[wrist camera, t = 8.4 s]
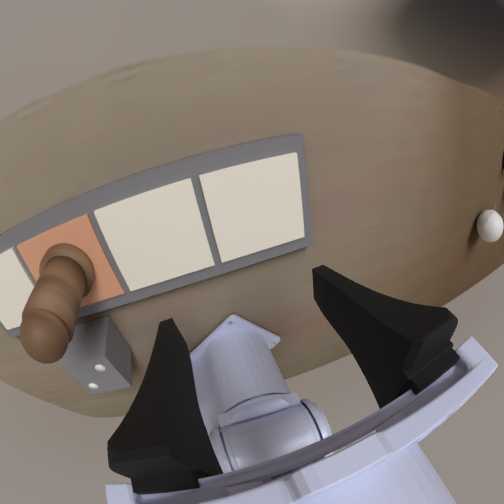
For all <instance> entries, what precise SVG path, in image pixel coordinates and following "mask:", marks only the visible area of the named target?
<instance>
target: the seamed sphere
mask: <svg viewBox="0 0 504 504" xmlns="http://www.w3.org/2000/svg"><path fill="white" fill-rule="evenodd" d="M495 206H496V204H495ZM477 231H478V233H479V235H480V237H481V238H482V239H483V240H485V241H487V242H494V241H497V240H498V239H499V238H500V237H501V235H502V233H503V221H502V218H501V217H500V215H499V214H498V213H497V212H496V211H493V210H485V211H483V212H482V213H481V214H480V215H479V217H478V219H477Z"/></svg>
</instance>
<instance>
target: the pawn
mask: <svg viewBox="0 0 504 504" xmlns="http://www.w3.org/2000/svg"><path fill="white" fill-rule="evenodd" d="M39 275H40V276H39V278H38V280H37V282H36V284H35V286H34V288H33V290H32V292H31V294H30V296H29V298H28V301H27V303H26V305H25V307H24V309H23V312H22V322H21V325H20V340H21V343H22V346H23V348H24V349H25V351H26V352H27V354H28V355H29V356H30V357H31V358H33V359H34V360H36V361H38V362H41V363H54V362H56V361H58V360H59V359H61V358H62V357H63V355H64V354H65V352H66V350H67V348H68V344H69V343H70V342H71V340H72V338H73V334H74V330H75V325H76V321H77V317H78V313H79V309H80V305H81V302H82V299H83V298H84V297H86V296H87V295H88V294H89V292H90V291H91V288H92V285H93V281H94V277H95V271H94V266H93V263H92V261H91V259H90V258H89V256H88V255H87V254H86V253H85V252H84V251H83V250H81V249H80V248H79V247H77V246H75V245H72V244H68V243H59V244H56V245H53V246H52V247H50V248H49V249H48V250H47V251H46V253H45V255H44V256H43V258H42V260H41V262H40V265H39Z"/></svg>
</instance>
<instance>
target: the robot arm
mask: <svg viewBox="0 0 504 504" xmlns="http://www.w3.org/2000/svg"><path fill="white" fill-rule="evenodd" d="M312 272H313V289H314V299H315V301H316V303H317V305H318V306H319V308H320V310H321V311H322V313H323V315H324V316H325V317H326V319H327V320H328V321H329V323H330V324H331V325H332V327H333V328H334V329H335V330H336V332H337V333H338V334H339V336H340V337H341V338H342V340H343V341H344V342H345V343H346V345H347V346H348V348H349V349H350V351H351V353H352V354H353V356H354V357H355V359H356V361H357V363H358V365H359V366H360V368H361V370H362V372H363V374H364V376H365V377H366V380H367V381H368V384H369V386H370V387H371V390H372V392H373V394H374V396H375V398H376V401H377V403H378V405H379V408H380V409H379V410H378V411H376V412H374V413H372V414H371V415H369V416H367V417H366V418H364V419H362V420H360V421H358V422H356V423H355V424H353V425H351V426H349V427H347V428H345V429H343V430H341V431H339V432H337V433H335V434H333V435H332V432H331V429H330V427H329V424H328V422H327V419H326V417H325V416H324V414H323V412H322V411H321V409H320V408H319V407H318V405H317V404H315V403H314V402H312V401H310V400H308V399H302V400H300V399H299V397H298V395H297V394H296V392H293V393H290V391H289V389H288V387H287V384H286V382H285V380H284V378H283V376H282V374H281V372H280V370H279V368H278V366H277V364H276V362H275V359H274V357H273V355H272V353H271V351H270V349H271V348H273V347H274V346H275V345H276V344H277V343H278V342H279V341H280V337H279V336H277V335H275V334H273V333H271V332H269V331H267V330H265V329H263V328H261V327H259V326H257V325H255V324H253V323H251V322H249V321H247V320H245V319H243V318H241V317H239V316H237V315H234V314H233V315H230V316H229V317H228V318H227V319H226V320H225V321H224V322H222V323H221V324H220V325H219V326H218V327H217V328H216V329H215V330H214V331H213V332H212V333H211V334H210V335H209V336H208V337H207V338H206V339H205V340H204V341H203V342H202V343H201V344H199V345H198V346H197V347H196V348H195V349H194V350H193V351H192V352H191V353H190V354H189V351H188V347H187V344H186V342H185V340H184V339H183V337H182V335H181V333H180V332H179V330H178V328H177V326H176V325H175V323H174V321H173V319H172V318H171V319H168V320H165V321H161V322H160V324H159V327H158V332H157V336H156V340H155V344H154V348H153V351H152V355H151V358H150V361H149V364H148V367H147V370H146V373H145V376H144V379H143V381H142V384H141V386H140V389H139V391H138V393H137V395H136V397H135V399H134V401H133V403H132V405H131V407H130V409H129V411H128V412H127V414H126V416H125V417H124V419H123V421H122V422H121V424H120V426H119V427H118V428H117V430H116V431H115V432H114V434H113V435H112V436H111V438H110V439H109V440H108V447H107V450H108V462H109V468H110V469H111V470H112V471H114V472H116V473H118V474H120V475H123V476H125V477H128V478H131V482H132V484H126V483H124V484H123V483H120V484H106V485H105V488H106V495H107V501H108V504H456V503H455V501H454V499H453V498H452V496H451V495H450V493H449V492H448V490H447V488H446V487H445V485H444V484H443V482H442V480H441V479H440V477H439V476H438V474H437V473H436V471H435V470H434V468H433V467H432V465H431V464H430V462H429V460H428V459H427V457H426V456H425V454H424V453H423V451H422V450H421V448H420V447H419V445H418V444H417V442H419V441H420V440H422V439H423V438H424V437H426V436H427V435H428V434H429V433H431V432H432V431H433V430H434V429H436V428H437V427H438V426H439V425H440V424H442V423H443V422H444V421H445V420H446V419H447V418H449V417H450V416H451V415H452V414H453V413H454V412H455V411H456V410H458V409H459V407H461V406H462V405H463V404H464V403H465V402H466V401H467V400H468V399H469V398H470V397H471V396H472V395H473V394H474V393H475V392H476V391H477V390H478V389H479V388H480V387H481V386H482V385H483V383H484V382H485V381H486V380H487V379H488V378H489V376H490V375H491V374H492V373H493V372H494V370H495V369H496V368H497V367H498V364H497V363H496V362H495V361H494V360H493V359H492V358H491V357H490V356H489V354H488V353H487V352H486V351H485V350H484V349H483V348H482V347H481V346H480V345H479V344H478V342H477V341H476V340H475V339H474V338H473V337H472V336H470V337H469V338H468V339H467V340H466V341H465V342H464V343H462V344H461V345H460V346H459V347H458V348H457V349H456V350H455V351H454V350H453V349H452V347H453V343H452V342H451V341H450V339H451V337H452V335H453V333H454V331H455V329H456V327H457V323H458V319H457V318H456V317H455V316H454V315H453V314H452V313H451V312H450V311H449V310H448V309H447V308H444V307H433V306H425V305H420V304H414V303H410V302H406V301H402V300H398V299H395V298H392V297H389V296H386V295H383V294H380V293H378V292H375V291H373V290H371V289H369V288H366V287H364V286H362V285H360V284H358V283H356V282H354V281H352V280H350V279H348V278H346V277H344V276H343V275H341V274H339V273H337V272H335V271H333V270H332V269H330V268H328V267H326V266H324V265H321V266H319V267H316V268H313V269H312ZM228 322H230V323H228ZM205 426H206V427H207V428H208V429H210V430H212V431H211V432H210V435H209V436H208V433H207V430H206V427H205ZM375 429H376V432H375V433H372V434H370V435H368V436H366V437H365V438H363V439H361V440H359V441H357V442H355V443H353V444H351V445H349V446H347V447H346V448H344V449H342V450H339V451H338V452H335V453H334V451H336V450H338V449H340V448H342V447H344V446H346V445H348V444H350V443H352V442H354V441H355V440H357V439H359V438H361V437H363V436H365V435H366V434H368V433H370V432H372V431H373V430H375ZM209 437H210V439H209Z"/></svg>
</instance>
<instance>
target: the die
mask: <svg viewBox="0 0 504 504" xmlns="http://www.w3.org/2000/svg"><path fill="white" fill-rule="evenodd" d="M61 366H62V367H63V368H64V369H65V370H66V371H67V372H68V373H69V374H70V375H71V376H72V377H73V378H74V379H75V380H76V381H77V382H78V383H79V384H80V385H81V386H82V387H83V388H84V389H85V390H86V391H88V392H89V393H90V394H96V393H102V392H107V391H113V390H118V389H123V388H128V387H132V374H131V347H130V346H129V344H128V343H127V342H126V340H125V339H124V337H123V336H122V335H121V333H120V332H119V330H118V329H117V327H116V326H115V324H114V323H113V321H112V320H111V318H110V317H109V316H106V317H103V318H99V319H96V320H93V321H89V322H86V323H82V324H79V325H75V330H74V334H73V338H72V340H71V342H70V343H69V344H68V348H67V350H66V352H65V354H64V355H63V359H62V364H61Z"/></svg>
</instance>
